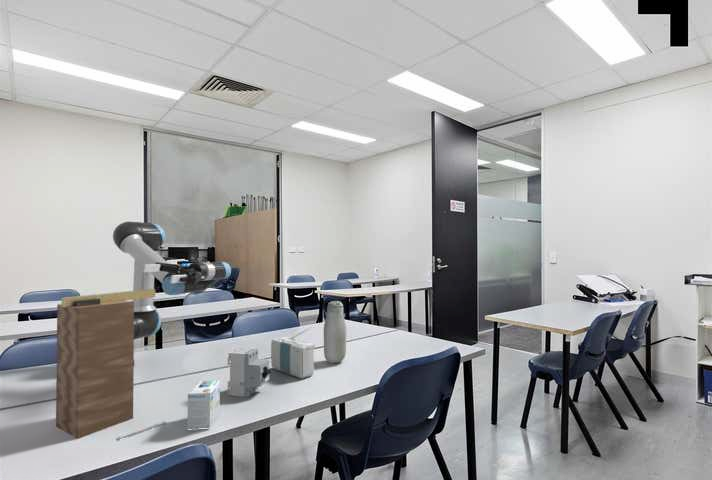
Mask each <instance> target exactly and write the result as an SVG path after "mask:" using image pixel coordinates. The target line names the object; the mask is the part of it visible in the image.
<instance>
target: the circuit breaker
mask: <svg viewBox="0 0 712 480" xmlns="http://www.w3.org/2000/svg"><path fill="white" fill-rule="evenodd" d="M227 354H228V357H227V365H228V366H229V381H227V396H236V397H250V396H251V395H252V394H254V393H255V392H256V391H258V389H259V388H261V387H262V386H263V385H264V384H266V383H267V382H268V381H270V374H271V373H272V369H270V359H268V358H259V348H255V347H253V348H252V347H251V348H250V347H237V348H236V349H234V350H232V351H229V352H228V353H227Z"/></svg>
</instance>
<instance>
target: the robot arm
mask: <svg viewBox="0 0 712 480" xmlns="http://www.w3.org/2000/svg"><path fill="white" fill-rule="evenodd" d="M112 240H113V243H114V244H115V245H116V247H117V248H118V249H119V250H120V251H121V252H122V253H124V254H129V256H131V257H132V258H133V259H134V261H133V264H134V265H133V281H132V282H133V285H132V291H137V290H148V289H153V290H155V278H156V279H157V280H158V281H159V282H160V283H161V288H162V290H163V292H164V294H165V295H168V296H179V295H183V294H184V295H185V294H191V295H192V296H199V295H200V294H202V293H204V292H205V291H206V290H207V289H209V288H210V287H212V286H213V285H214V284H216V283H217V282H219V281H220V280H225V279H228V278H229V277H230V275H231V273H232V268H231V266H230V264H229V263H227V262H225V261H215V262H213V261H212V262H211V261H206V262H204V261H203V262H199V261H198V262H192V263H190V264H189V265H182V264H181V263H169V262H168V261H166V260H165V259H164V258H163V257H162V256H161V255H160V254H158V253H159V252H160V248H161V247H163V245H164V244H165V242H166V233H165V230H164V229H163V228H162V227H161V226H160V225H159V224H157V223H154V222H141V221H139V222H138V221H124V222H121V223H120V224H118V225H117V226H116V227H115V229H114V230H113V233H112ZM132 302H134V340H139V339H143V338H148V337H150V336H153V335H156V333H157V332H159V330H160V328H161V326H162V321H163V320H162V315H160V314H161V313H159V312H158V311H157V307H156V306H155V305H154V297H151V298H143V299H134V300H132Z"/></svg>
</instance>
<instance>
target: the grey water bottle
mask: <svg viewBox="0 0 712 480" xmlns="http://www.w3.org/2000/svg"><path fill="white" fill-rule="evenodd" d="M326 310H327V311H326V318H325V321H324V324H323V355H324V358H325V360H326V361H327V362H329V363H330V364H339V363H341V362H342V361H344V360H345V357H346V353H347V324H346V320H345V316H344V305H343V303H342V302H341V301H340V300H331V301H330V302H329V303H328V304H327V307H326Z"/></svg>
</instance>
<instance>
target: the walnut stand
mask: <svg viewBox="0 0 712 480" xmlns="http://www.w3.org/2000/svg"><path fill="white" fill-rule="evenodd" d="M56 306H57V307H56V309H57V310H56V311H57V312H56V314H57V315H56V318H57V319H56V380H55V381H56V387H55V389H56V390H55V391H56V393H55V395H56V396H55V397H56V398H55V401H56V402H55V427H56V428H58V429H60V430H61V431H63V432H65V433H66V434H68V435H70V436H72V437H74V438H76V439H81V438H84V437H86V436H87V437H88V436H89V435H91V434H95V433H97V432H100V431H103V430H106V429H107V428H111V427H113V426H116V425H119V424H122V423H125V422H127V421H129V420H132V419H134V376H135V375H134V369H135V359H134V358H135V357H134V355H135V352H134V349H135V348H134V347H135V343H134V342H135V341H134V302H133V300H132V301H131V300H125V301H116V302H108V303H100V299H91V300H82V301H75V306H73V307H62V306H61V303H60V304H59V303H58V304H57V305H56Z"/></svg>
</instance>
